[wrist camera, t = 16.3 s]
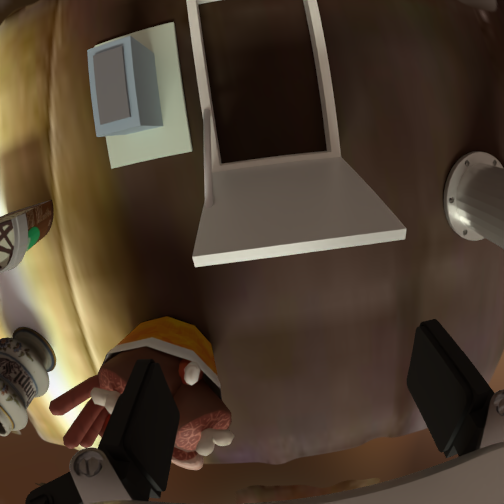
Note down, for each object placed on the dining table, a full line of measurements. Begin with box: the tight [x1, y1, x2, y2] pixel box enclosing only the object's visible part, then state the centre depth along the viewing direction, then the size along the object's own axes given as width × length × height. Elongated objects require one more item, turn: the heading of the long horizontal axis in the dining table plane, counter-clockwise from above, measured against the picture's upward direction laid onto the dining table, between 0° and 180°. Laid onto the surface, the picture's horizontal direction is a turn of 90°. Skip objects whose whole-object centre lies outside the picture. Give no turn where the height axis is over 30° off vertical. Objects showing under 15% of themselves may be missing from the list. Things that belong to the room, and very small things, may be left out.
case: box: [186, 0, 406, 267], centre depth 24 cm, size 14×26×18 cm, turn 8°
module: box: [87, 36, 163, 137], centre depth 28 cm, size 4×9×8 cm, turn 7°
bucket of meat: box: [49, 316, 234, 470], centre depth 35 cm, size 20×16×20 cm
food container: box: [0, 200, 53, 272], centre depth 33 cm, size 12×6×10 cm, turn 98°
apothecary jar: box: [0, 327, 56, 436], centre depth 37 cm, size 12×12×18 cm
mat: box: [95, 22, 193, 168], centre depth 32 cm, size 10×16×1 cm, turn 8°
